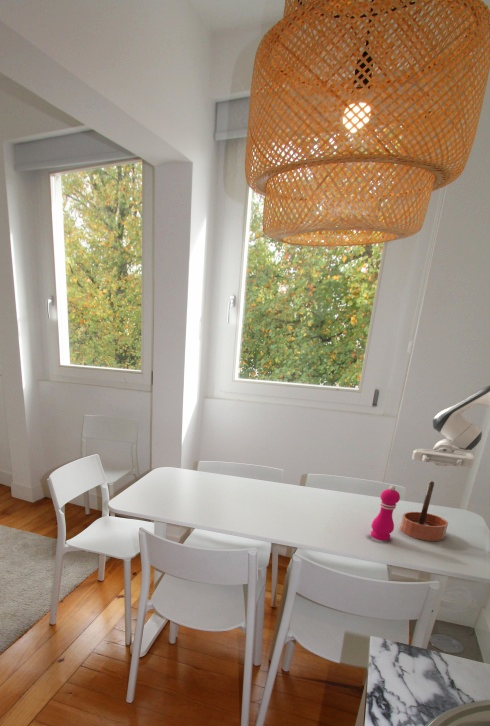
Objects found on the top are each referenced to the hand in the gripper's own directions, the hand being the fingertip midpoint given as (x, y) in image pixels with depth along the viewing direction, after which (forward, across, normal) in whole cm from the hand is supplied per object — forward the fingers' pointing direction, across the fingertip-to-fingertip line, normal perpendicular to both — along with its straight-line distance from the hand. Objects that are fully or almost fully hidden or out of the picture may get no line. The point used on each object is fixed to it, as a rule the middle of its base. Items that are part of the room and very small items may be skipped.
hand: (440, 462), depth 174 cm
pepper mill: (+27, -12, +24) cm, 38 cm away
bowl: (+14, 0, +24) cm, 28 cm away
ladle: (+12, -1, +24) cm, 27 cm away
